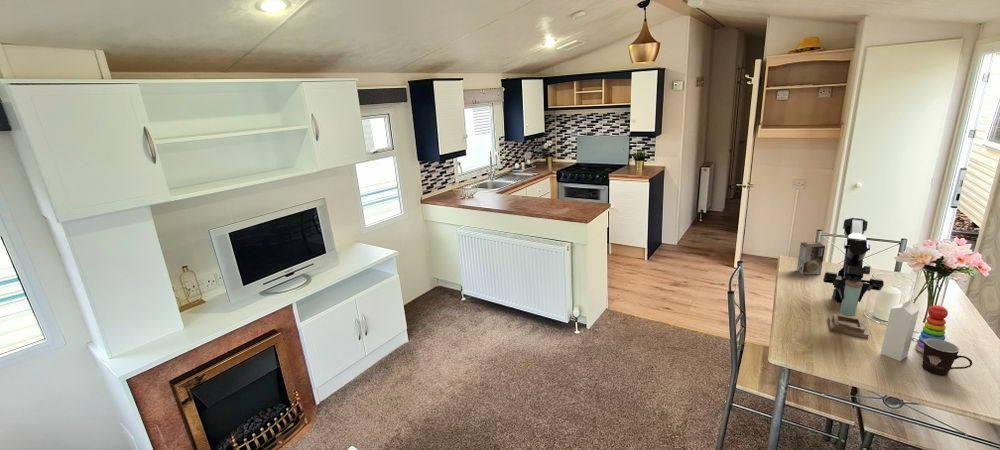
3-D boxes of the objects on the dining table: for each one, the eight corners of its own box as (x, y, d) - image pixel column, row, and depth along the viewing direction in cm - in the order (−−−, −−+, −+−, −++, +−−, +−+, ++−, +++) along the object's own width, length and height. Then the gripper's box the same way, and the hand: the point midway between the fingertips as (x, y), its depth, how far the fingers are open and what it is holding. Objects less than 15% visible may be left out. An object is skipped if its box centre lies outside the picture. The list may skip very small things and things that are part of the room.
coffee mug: (911, 364, 157) (917, 339, 154) (933, 361, 158) (940, 337, 155) (945, 384, 146) (952, 358, 143) (969, 382, 147) (977, 356, 144)
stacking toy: (931, 345, 167) (943, 301, 161) (950, 358, 159) (963, 311, 154) (909, 345, 168) (920, 301, 162) (926, 357, 160) (938, 311, 155)
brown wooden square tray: (828, 318, 189) (829, 311, 188) (863, 324, 183) (865, 318, 182) (830, 331, 180) (831, 324, 179) (868, 338, 173) (869, 331, 173)
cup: (850, 310, 182) (856, 279, 178) (859, 316, 177) (866, 285, 173) (836, 310, 182) (842, 279, 178) (845, 316, 177) (851, 285, 173)
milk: (907, 356, 162) (922, 302, 155) (900, 361, 159) (914, 307, 152) (887, 348, 167) (900, 296, 160) (879, 353, 164) (892, 300, 157)
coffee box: (814, 270, 236) (819, 241, 232) (821, 274, 230) (826, 246, 226) (795, 270, 238) (800, 242, 233) (802, 274, 232) (806, 246, 227)
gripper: (828, 253, 181) (825, 288, 175) (887, 261, 171) (886, 298, 165) (824, 264, 189) (821, 298, 184) (881, 272, 179) (879, 307, 174)
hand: (850, 300), depth 177 cm, fingers closed on cup, 5 cm apart
